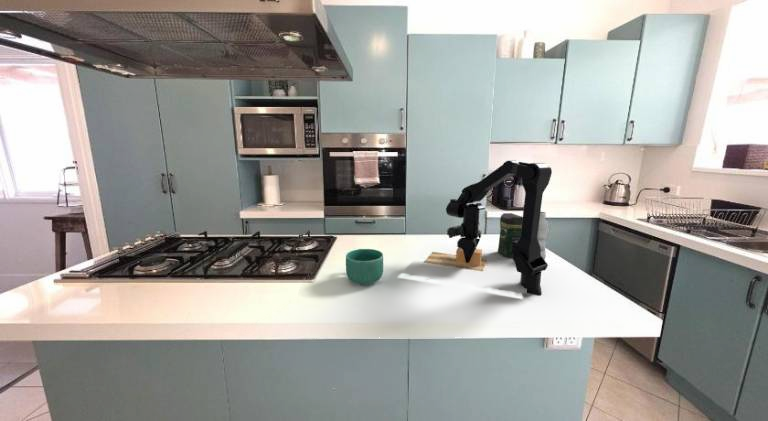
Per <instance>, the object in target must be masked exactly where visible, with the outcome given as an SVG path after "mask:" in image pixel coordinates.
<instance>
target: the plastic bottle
mask: <svg viewBox="0 0 768 421" xmlns="http://www.w3.org/2000/svg"><path fill="white" fill-rule="evenodd" d="M546 217H547V212H545V211H540V219H539V227H538V235H537V239H538V242H539V244H540V250H541V256H542V257H543V259H544V260H545V259H546V255H547V254H546V239H547V234H548V232H549V227H550V226H549V223H548V221H547V219H546ZM545 261H546V260H545Z"/></svg>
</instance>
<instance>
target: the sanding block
mask: <svg viewBox="0 0 768 421" xmlns="http://www.w3.org/2000/svg"><path fill="white" fill-rule="evenodd" d="M455 255H456V263H460V264H467V265H474V266H480V265H481V262H482V261H481V259H482V256H483V249H482V248H481V249H480V248H476V249H475V251H474V253H473V255H472V257H471V259H470V262H469V263H466V261H465V256H464V252H463V249H461V248H460V247H457V248H456V254H455Z"/></svg>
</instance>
